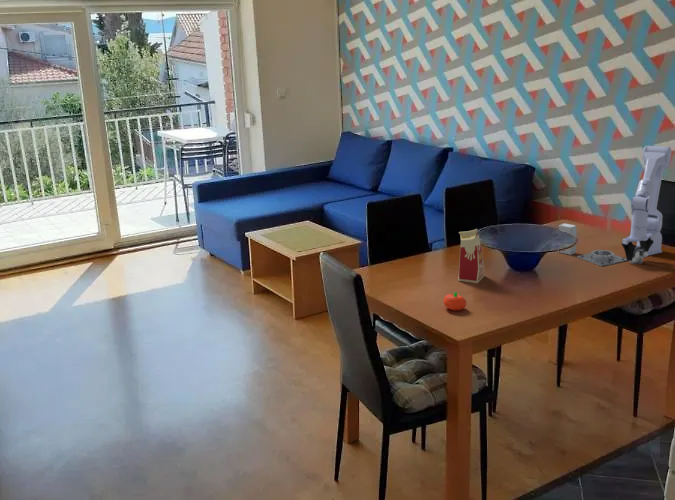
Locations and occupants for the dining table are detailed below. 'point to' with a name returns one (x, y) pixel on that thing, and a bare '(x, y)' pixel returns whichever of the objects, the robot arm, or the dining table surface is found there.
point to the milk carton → (470, 257)
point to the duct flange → (602, 257)
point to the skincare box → (571, 230)
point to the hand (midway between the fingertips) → (636, 258)
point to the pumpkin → (454, 302)
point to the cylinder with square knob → (638, 255)
